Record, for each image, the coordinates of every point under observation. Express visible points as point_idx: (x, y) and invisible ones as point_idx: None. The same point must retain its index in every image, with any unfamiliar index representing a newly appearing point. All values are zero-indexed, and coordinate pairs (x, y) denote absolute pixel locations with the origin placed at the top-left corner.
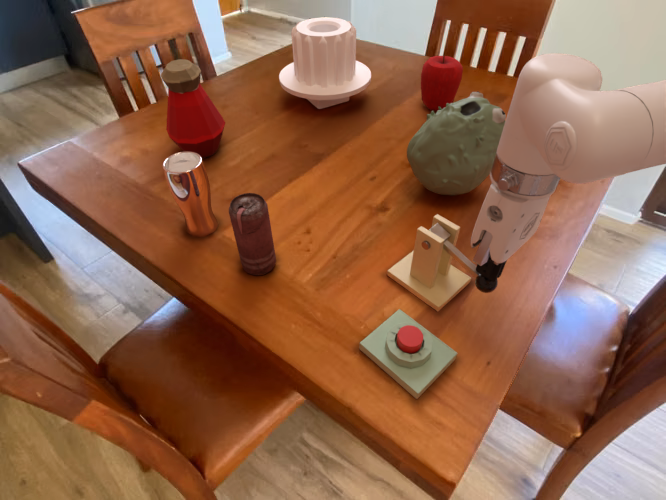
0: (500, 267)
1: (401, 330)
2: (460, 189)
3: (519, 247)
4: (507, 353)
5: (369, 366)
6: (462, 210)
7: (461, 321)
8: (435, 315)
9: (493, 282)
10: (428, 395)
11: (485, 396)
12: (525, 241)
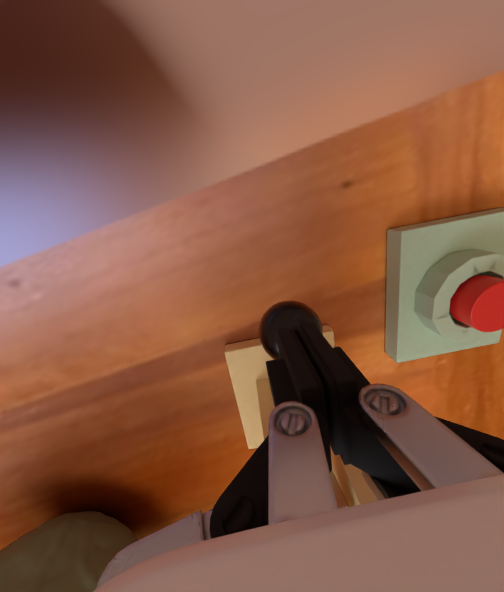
0: (340, 363)
1: (498, 326)
2: (86, 544)
3: (502, 535)
4: (297, 176)
5: None
6: (104, 475)
7: (310, 286)
8: (336, 320)
9: (299, 320)
10: (480, 201)
11: (413, 130)
12: (371, 580)
